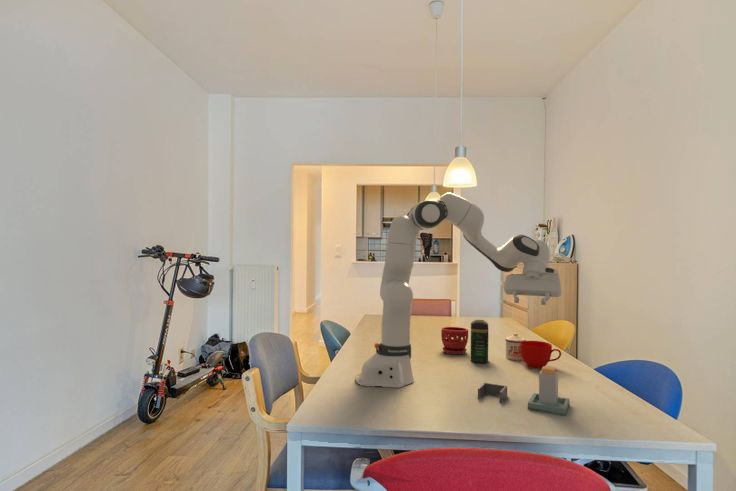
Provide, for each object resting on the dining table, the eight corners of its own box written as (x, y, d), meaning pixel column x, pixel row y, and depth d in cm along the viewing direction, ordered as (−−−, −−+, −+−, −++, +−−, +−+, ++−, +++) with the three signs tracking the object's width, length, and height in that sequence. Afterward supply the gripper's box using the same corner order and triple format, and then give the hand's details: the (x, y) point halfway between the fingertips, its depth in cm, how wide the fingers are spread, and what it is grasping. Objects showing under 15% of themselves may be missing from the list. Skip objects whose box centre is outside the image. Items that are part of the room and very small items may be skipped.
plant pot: (470, 355, 210) (471, 330, 210) (443, 355, 210) (443, 330, 210) (465, 349, 223) (465, 326, 223) (439, 349, 223) (439, 325, 223)
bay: (477, 398, 149) (477, 388, 149) (484, 392, 156) (484, 382, 156) (501, 403, 145) (501, 392, 145) (507, 396, 152) (507, 386, 152)
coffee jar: (488, 364, 194) (488, 322, 194) (470, 363, 196) (470, 321, 196) (488, 359, 204) (488, 319, 204) (470, 357, 206) (470, 318, 206)
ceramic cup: (557, 374, 179) (557, 349, 179) (515, 367, 189) (515, 344, 189) (564, 367, 189) (564, 344, 189) (525, 361, 200) (525, 339, 200)
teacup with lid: (506, 360, 202) (506, 334, 202) (504, 355, 211) (504, 331, 211) (534, 361, 200) (534, 335, 200) (530, 356, 208) (530, 332, 209)
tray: (527, 409, 139) (527, 402, 139) (534, 399, 149) (534, 392, 149) (565, 416, 134) (565, 409, 134) (569, 405, 143) (569, 398, 143)
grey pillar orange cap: (539, 406, 140) (539, 368, 141) (541, 401, 145) (541, 365, 145) (555, 409, 138) (555, 370, 138) (558, 404, 142) (558, 367, 142)
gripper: (505, 268, 172) (499, 295, 163) (562, 269, 162) (558, 298, 153) (508, 279, 176) (502, 306, 167) (563, 281, 165) (560, 310, 157)
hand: (529, 302), depth 160 cm, fingers open, 8 cm apart
